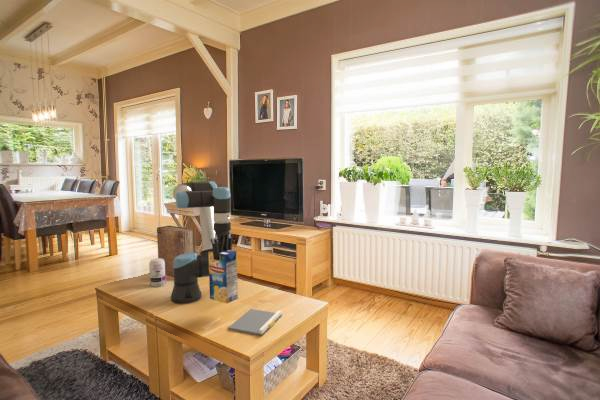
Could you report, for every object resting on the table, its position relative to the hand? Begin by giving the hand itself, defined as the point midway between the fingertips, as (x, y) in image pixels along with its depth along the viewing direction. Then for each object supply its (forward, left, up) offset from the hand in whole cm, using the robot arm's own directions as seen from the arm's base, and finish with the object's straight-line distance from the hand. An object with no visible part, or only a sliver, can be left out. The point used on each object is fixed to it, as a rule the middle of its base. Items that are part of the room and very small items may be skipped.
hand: (223, 273), depth 152 cm
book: (-63, +43, -21) cm, 79 cm away
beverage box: (0, 0, -12) cm, 12 cm away
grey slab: (+16, 0, -21) cm, 26 cm away
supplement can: (-60, +23, -21) cm, 67 cm away
